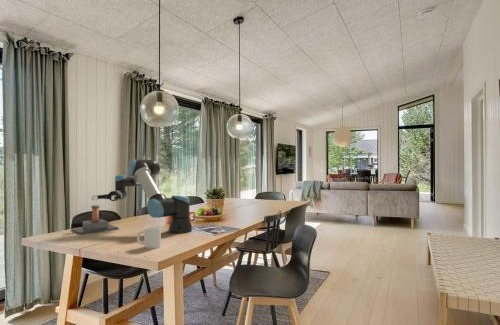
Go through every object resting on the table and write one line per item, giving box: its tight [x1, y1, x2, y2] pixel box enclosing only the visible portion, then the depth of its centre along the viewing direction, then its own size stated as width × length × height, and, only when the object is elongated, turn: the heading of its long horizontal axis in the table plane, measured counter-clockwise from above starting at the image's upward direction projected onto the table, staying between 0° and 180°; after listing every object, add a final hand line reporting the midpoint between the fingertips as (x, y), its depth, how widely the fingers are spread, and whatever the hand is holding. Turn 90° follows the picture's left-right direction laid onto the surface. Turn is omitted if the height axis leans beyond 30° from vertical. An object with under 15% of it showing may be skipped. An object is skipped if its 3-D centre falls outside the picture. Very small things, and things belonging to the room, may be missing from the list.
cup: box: [136, 225, 162, 250], centre depth 171 cm, size 8×12×10 cm
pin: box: [90, 204, 101, 222], centre depth 217 cm, size 5×5×15 cm
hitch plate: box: [70, 218, 119, 236], centre depth 217 cm, size 24×18×6 cm
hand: (102, 198), depth 227 cm, fingers open, 13 cm apart
